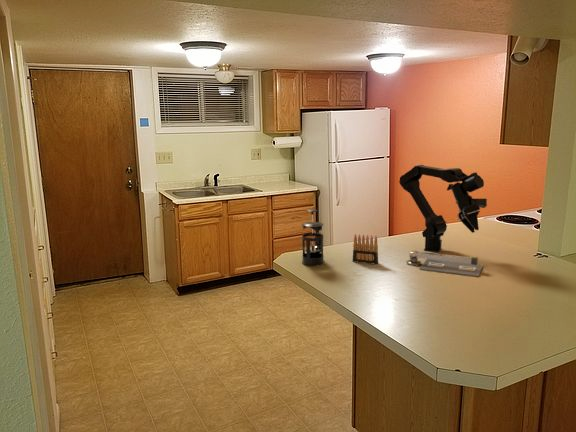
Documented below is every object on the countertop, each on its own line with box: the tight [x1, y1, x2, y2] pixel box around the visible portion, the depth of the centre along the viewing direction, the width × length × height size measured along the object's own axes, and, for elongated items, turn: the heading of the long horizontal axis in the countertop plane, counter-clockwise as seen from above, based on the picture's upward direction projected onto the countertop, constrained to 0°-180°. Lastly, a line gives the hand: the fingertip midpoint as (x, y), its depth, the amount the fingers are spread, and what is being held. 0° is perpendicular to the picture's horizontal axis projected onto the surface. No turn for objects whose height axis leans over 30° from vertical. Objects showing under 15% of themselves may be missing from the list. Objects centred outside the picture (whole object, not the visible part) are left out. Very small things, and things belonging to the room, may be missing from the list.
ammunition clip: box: [352, 233, 379, 265], centre depth 198 cm, size 11×2×12 cm, turn 65°
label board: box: [419, 259, 483, 278], centre depth 188 cm, size 22×14×1 cm, turn 62°
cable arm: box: [409, 250, 479, 265], centre depth 189 cm, size 26×4×2 cm, turn 62°
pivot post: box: [405, 257, 422, 267], centre depth 195 cm, size 6×6×3 cm
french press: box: [301, 208, 325, 267], centre depth 198 cm, size 12×9×23 cm
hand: (475, 231), depth 195 cm, fingers open, 9 cm apart
